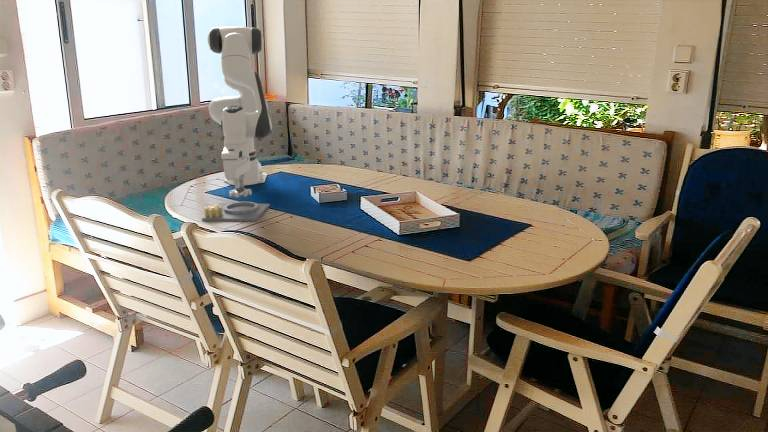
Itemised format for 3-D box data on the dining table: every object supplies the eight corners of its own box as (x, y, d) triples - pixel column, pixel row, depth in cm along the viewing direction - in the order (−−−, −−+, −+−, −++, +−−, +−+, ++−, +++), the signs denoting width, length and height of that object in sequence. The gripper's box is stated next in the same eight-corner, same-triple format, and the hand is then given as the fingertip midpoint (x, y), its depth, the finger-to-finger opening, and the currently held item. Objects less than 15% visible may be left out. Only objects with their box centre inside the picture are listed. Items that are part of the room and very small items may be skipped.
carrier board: (220, 205, 252) (219, 195, 251) (269, 206, 250) (269, 196, 249) (201, 220, 233) (200, 210, 232) (255, 221, 231) (254, 211, 230)
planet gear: (233, 191, 245) (232, 177, 244) (254, 191, 245) (253, 177, 243) (226, 197, 237) (224, 183, 236) (248, 197, 236) (246, 183, 235)
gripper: (237, 145, 246) (239, 179, 250) (219, 155, 227) (222, 192, 231) (252, 145, 246) (255, 179, 250) (236, 155, 226) (239, 192, 230)
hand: (239, 186), depth 240 cm, fingers closed on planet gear, 3 cm apart
